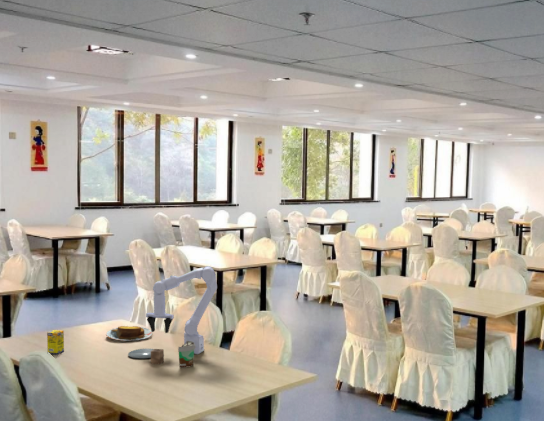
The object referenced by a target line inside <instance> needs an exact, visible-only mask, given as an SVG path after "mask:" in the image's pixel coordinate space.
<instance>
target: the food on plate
mask: <svg viewBox="0 0 544 421" xmlns="http://www.w3.org/2000/svg"><path fill="white" fill-rule="evenodd" d="M105 335H106V337H107V338H108V339H109V340H110V339H111V340H116V341H117V340H118V341H122V342H123V341H124V342H132V341H139V340H144V339H148V338H150V337H152V335H153V332H152V331H151V329H149V328H147V327H142V326H139V325H138V326H137V325H133V326H128V325H127V326H125V325H121V326H118V327H115V328H112V329H110V330H108V331H107V332H106V334H105ZM144 336H145V337H144Z"/></svg>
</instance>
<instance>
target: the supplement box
mask: <svg viewBox="0 0 544 421" xmlns="http://www.w3.org/2000/svg"><path fill="white" fill-rule="evenodd" d="M64 333H65V331H64V330H61V329H60V330H58V329H53V330H50V331H47V333H46V336H47V338H46V339H47V341H46V342H47V348H46V349H47V353H48V352H49V353H51V354H50V355H57V356H58V355H60V354H61V353H64V352H65V338H64V335H65V334H64Z"/></svg>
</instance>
